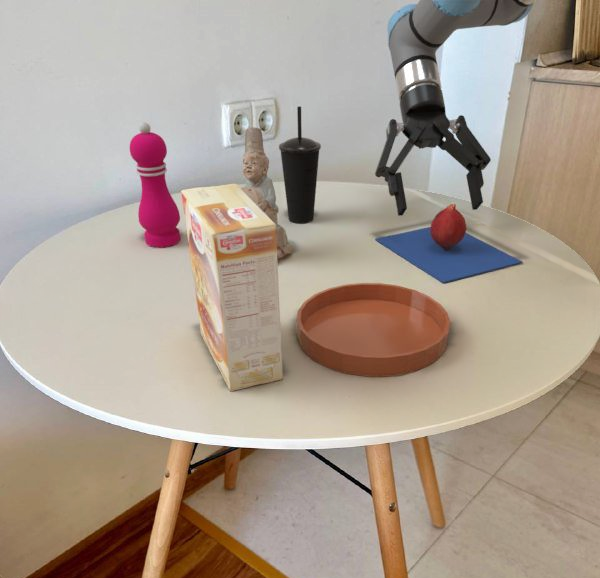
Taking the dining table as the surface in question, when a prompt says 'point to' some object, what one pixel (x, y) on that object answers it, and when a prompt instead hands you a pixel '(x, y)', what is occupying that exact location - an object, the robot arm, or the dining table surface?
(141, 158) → the pepper mill
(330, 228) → the dining table surface
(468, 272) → the blue cloth
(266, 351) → the coffeecake box
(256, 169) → the figurine
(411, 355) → the bowl
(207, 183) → the dining table surface
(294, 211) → the drinking cup
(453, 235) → the onion
